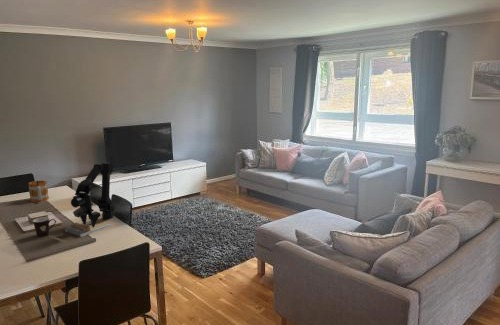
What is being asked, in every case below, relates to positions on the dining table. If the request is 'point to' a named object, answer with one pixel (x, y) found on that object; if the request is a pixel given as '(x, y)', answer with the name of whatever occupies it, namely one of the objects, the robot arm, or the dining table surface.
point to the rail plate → (81, 232)
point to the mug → (38, 191)
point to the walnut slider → (81, 227)
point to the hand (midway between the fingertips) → (88, 225)
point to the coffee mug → (42, 226)
